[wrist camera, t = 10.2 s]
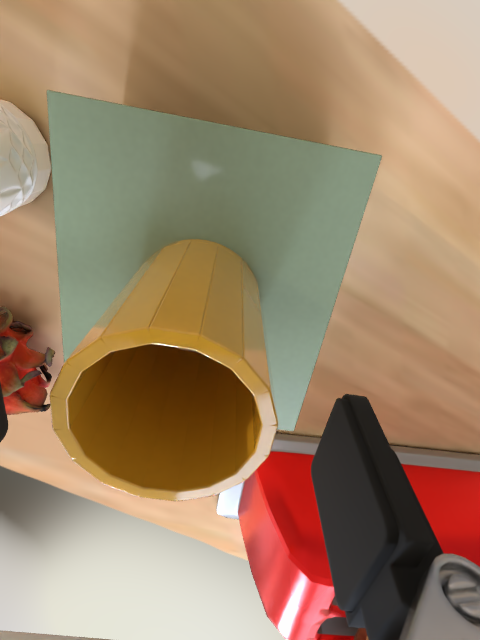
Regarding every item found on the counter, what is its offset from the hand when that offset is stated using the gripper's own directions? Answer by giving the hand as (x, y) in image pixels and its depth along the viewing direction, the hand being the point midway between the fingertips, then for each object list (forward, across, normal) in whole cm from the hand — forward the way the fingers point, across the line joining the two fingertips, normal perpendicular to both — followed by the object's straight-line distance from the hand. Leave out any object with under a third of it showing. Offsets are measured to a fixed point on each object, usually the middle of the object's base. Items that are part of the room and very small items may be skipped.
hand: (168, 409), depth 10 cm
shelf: (+19, 0, +1) cm, 19 cm away
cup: (+9, 0, +1) cm, 9 cm away
